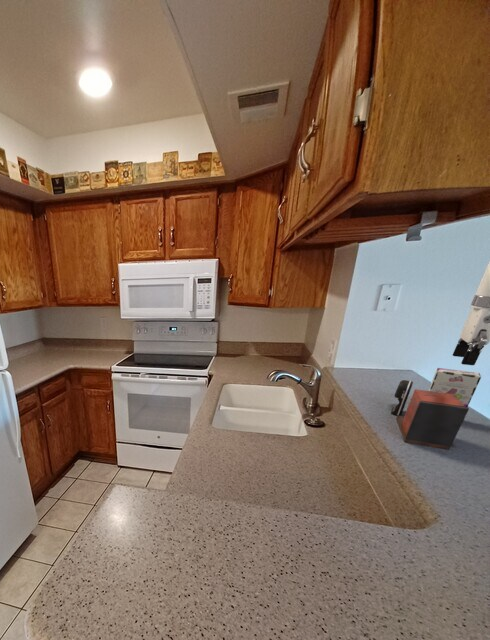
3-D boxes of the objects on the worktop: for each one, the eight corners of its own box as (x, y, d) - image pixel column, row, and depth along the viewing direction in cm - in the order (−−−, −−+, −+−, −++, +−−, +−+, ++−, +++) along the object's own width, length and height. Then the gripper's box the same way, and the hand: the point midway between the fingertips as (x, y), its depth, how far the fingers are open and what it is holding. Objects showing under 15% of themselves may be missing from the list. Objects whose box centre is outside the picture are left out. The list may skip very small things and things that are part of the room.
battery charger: (390, 407, 120) (400, 377, 115) (402, 410, 118) (413, 380, 113) (387, 414, 116) (398, 383, 110) (400, 416, 114) (412, 385, 108)
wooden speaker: (434, 424, 108) (450, 387, 102) (449, 450, 94) (469, 408, 88) (396, 418, 112) (409, 382, 106) (404, 442, 98) (420, 402, 92)
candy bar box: (458, 418, 112) (480, 372, 104) (460, 424, 108) (482, 376, 101) (419, 411, 118) (437, 366, 110) (419, 416, 114) (437, 370, 106)
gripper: (518, 307, 87) (487, 369, 96) (494, 300, 101) (469, 354, 109) (482, 306, 90) (455, 366, 98) (463, 298, 104) (441, 352, 112)
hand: (462, 360), depth 104 cm, fingers open, 9 cm apart
